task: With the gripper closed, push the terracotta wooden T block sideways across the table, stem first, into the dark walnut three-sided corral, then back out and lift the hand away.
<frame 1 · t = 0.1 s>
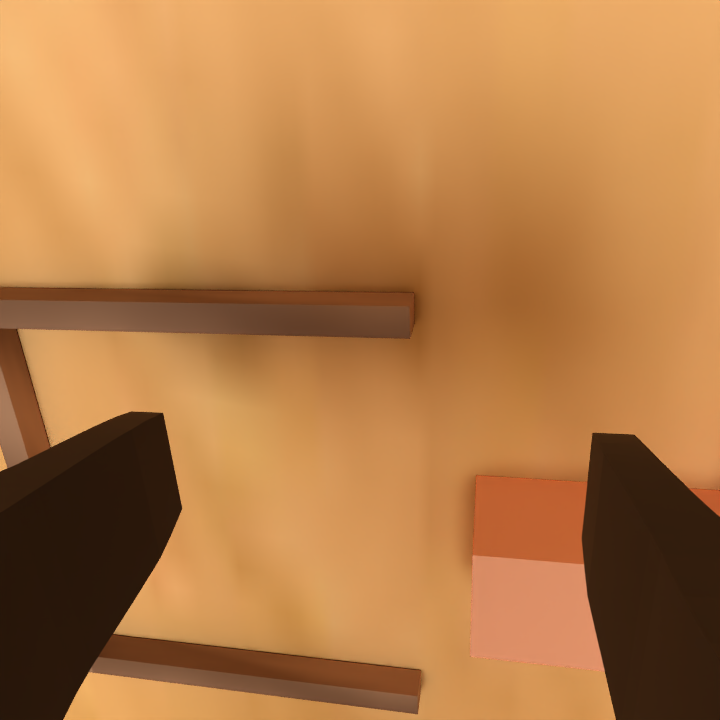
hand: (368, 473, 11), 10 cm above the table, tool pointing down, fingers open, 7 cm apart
corral: (231, 505, 25), on the table
t block: (657, 536, 23), on the table
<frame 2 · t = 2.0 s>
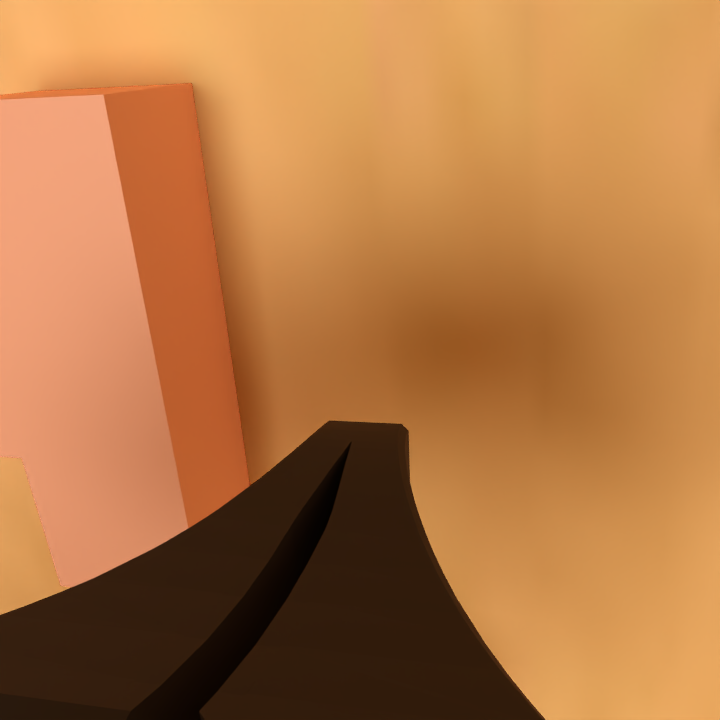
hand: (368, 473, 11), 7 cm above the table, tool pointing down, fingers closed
t block: (28, 318, 19), on the table
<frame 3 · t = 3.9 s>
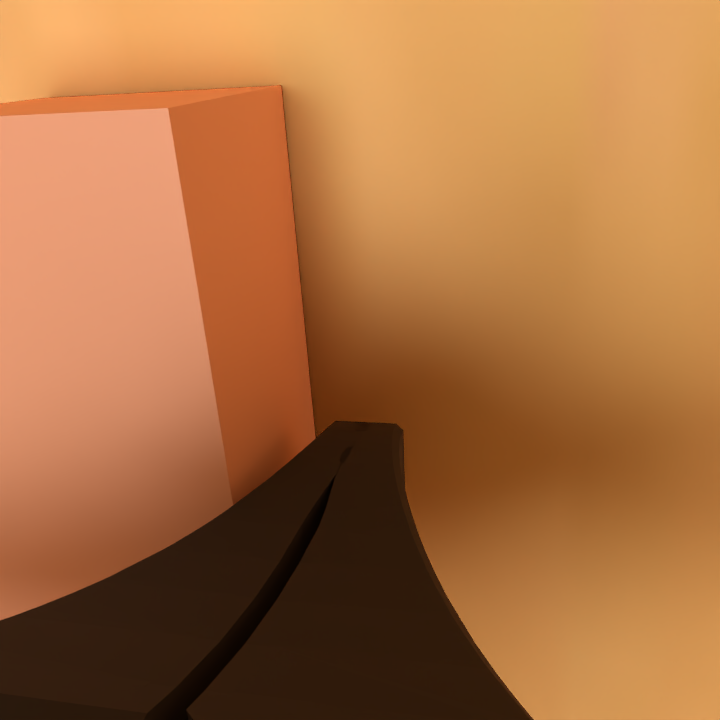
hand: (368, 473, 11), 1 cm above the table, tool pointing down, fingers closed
t block: (31, 414, 14), on the table, touching gripper
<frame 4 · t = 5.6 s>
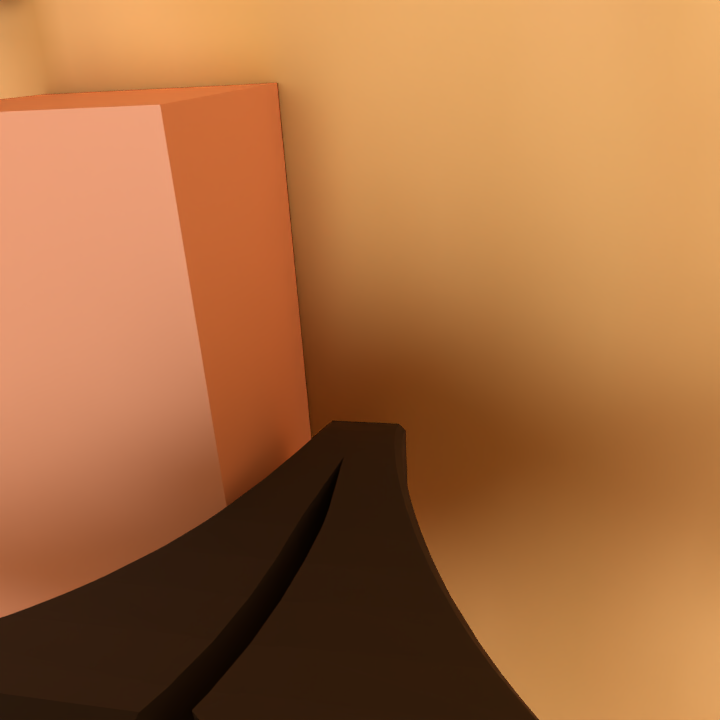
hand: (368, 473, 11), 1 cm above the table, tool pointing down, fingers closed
t block: (27, 411, 14), on the table, touching gripper
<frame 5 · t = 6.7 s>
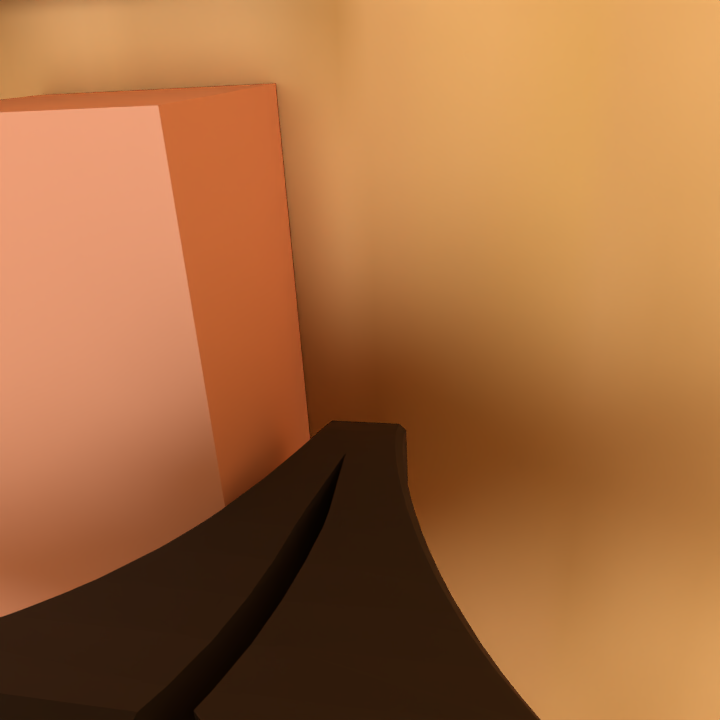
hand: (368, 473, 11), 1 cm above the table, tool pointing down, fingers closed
t block: (26, 411, 14), on the table, touching gripper
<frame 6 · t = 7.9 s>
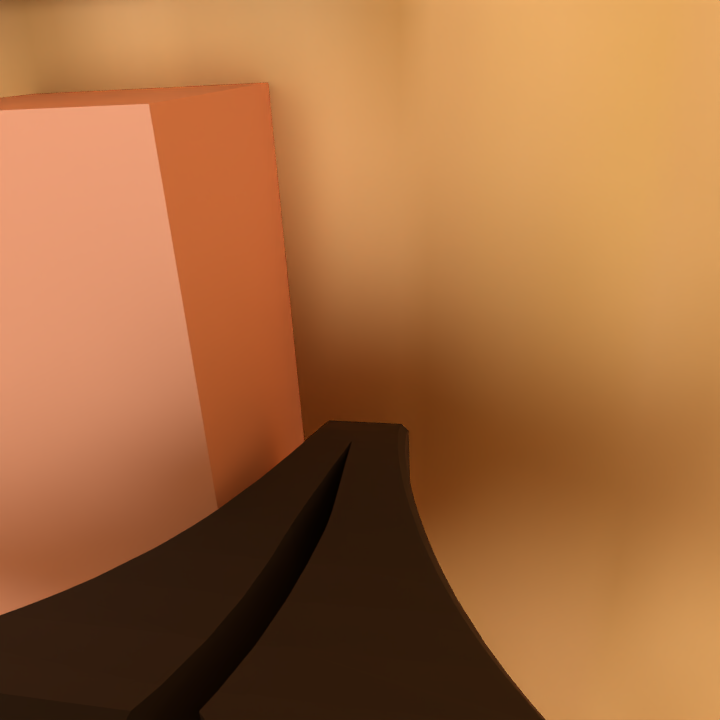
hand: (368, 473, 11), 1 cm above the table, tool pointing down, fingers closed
t block: (22, 409, 14), on the table
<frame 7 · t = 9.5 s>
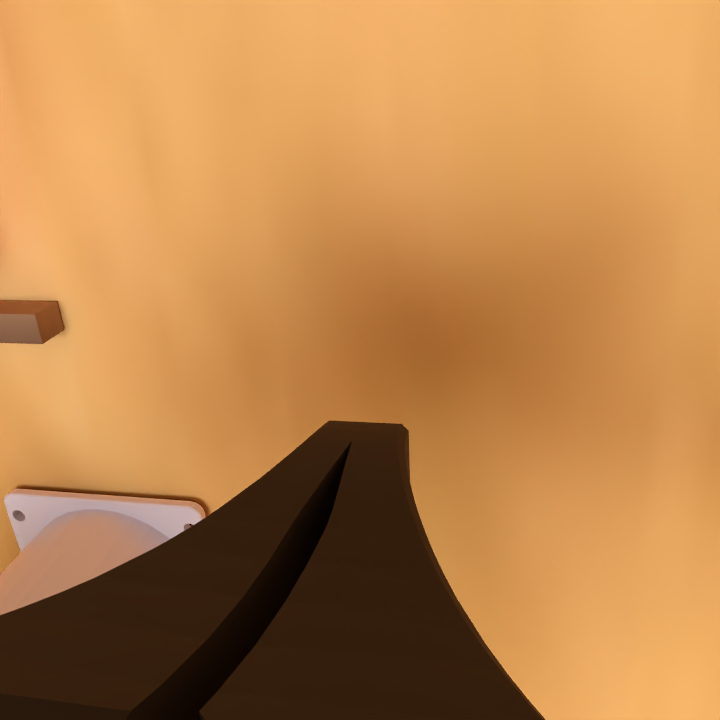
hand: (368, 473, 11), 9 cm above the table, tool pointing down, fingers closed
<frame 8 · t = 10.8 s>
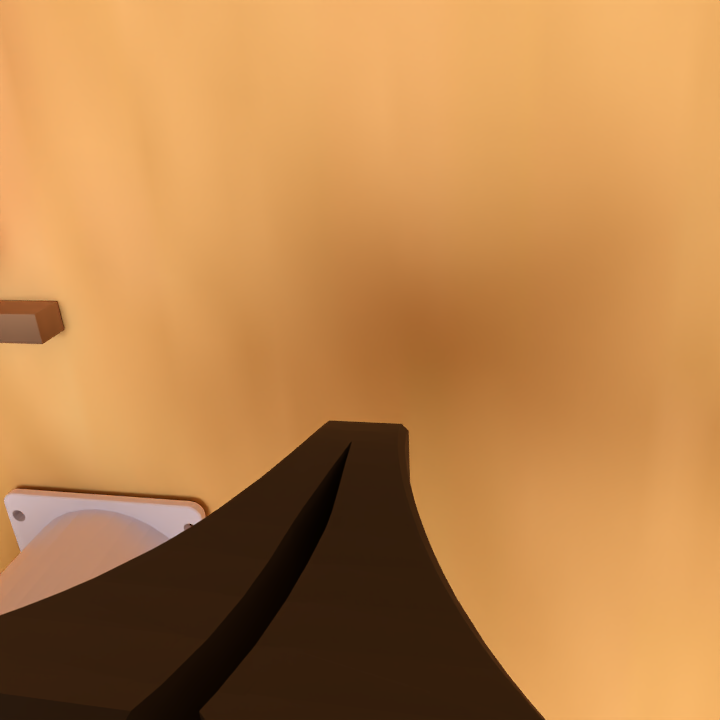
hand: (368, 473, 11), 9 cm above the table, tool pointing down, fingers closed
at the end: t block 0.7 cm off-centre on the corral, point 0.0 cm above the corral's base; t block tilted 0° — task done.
